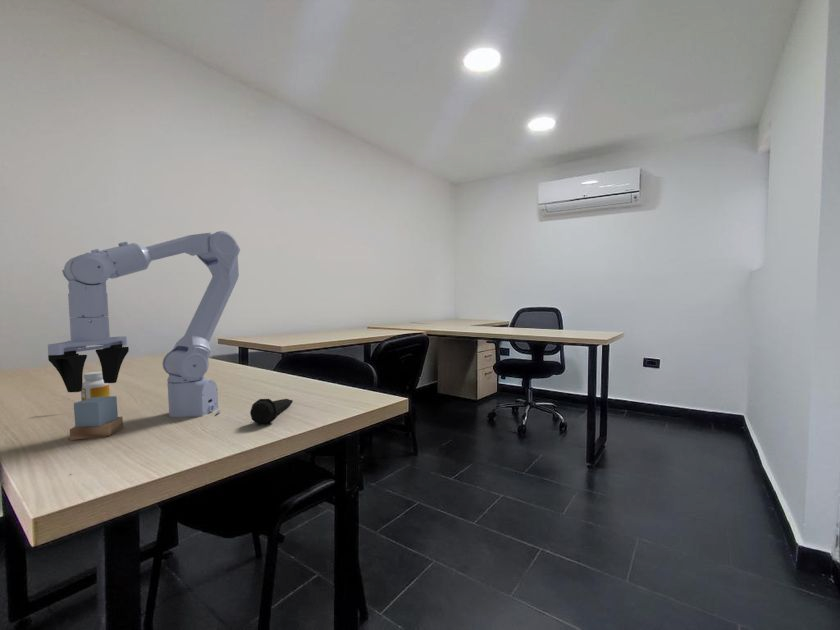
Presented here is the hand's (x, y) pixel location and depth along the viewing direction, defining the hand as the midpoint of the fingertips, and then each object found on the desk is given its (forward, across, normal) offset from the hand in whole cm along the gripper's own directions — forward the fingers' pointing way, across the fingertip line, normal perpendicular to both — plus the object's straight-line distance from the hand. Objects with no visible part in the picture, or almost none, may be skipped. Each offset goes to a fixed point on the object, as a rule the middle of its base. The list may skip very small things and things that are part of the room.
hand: (93, 387), depth 74 cm
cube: (+7, 0, +1) cm, 7 cm away
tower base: (+11, 0, 0) cm, 11 cm away
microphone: (+11, -17, +29) cm, 35 cm away
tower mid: (+9, 0, +1) cm, 9 cm away
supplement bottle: (+11, -20, -19) cm, 29 cm away
